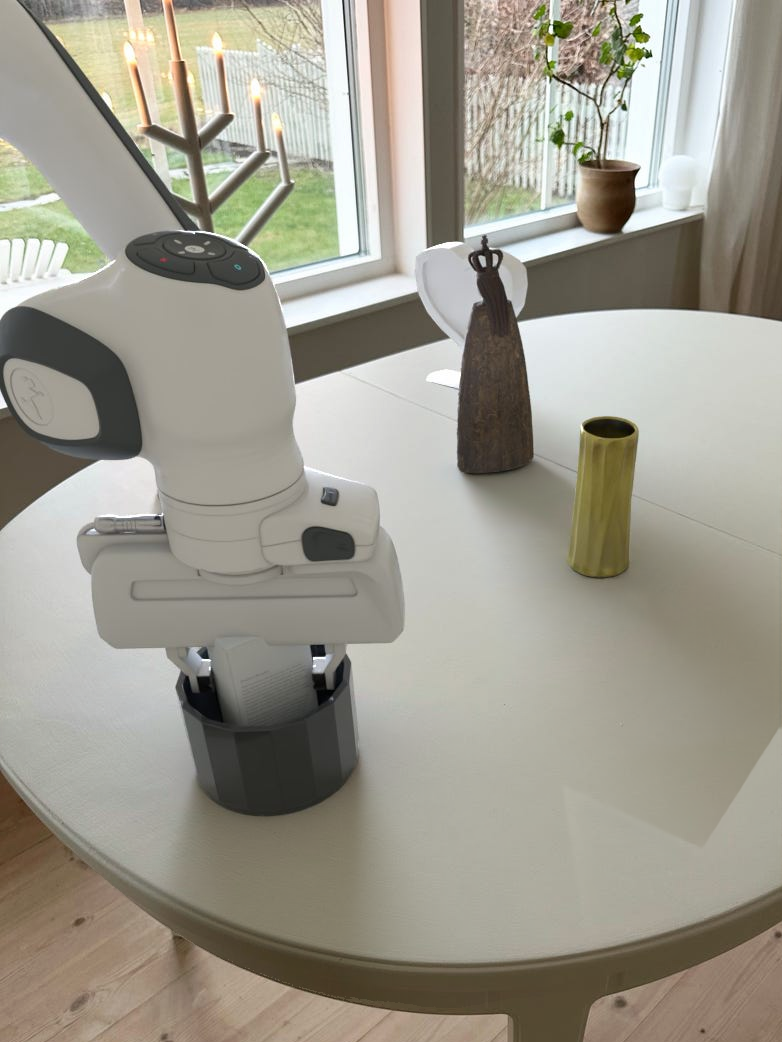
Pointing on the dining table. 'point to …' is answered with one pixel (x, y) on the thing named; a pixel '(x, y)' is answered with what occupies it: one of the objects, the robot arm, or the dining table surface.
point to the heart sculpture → (460, 291)
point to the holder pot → (273, 749)
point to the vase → (603, 497)
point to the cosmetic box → (261, 680)
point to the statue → (493, 379)
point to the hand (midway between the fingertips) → (266, 686)
